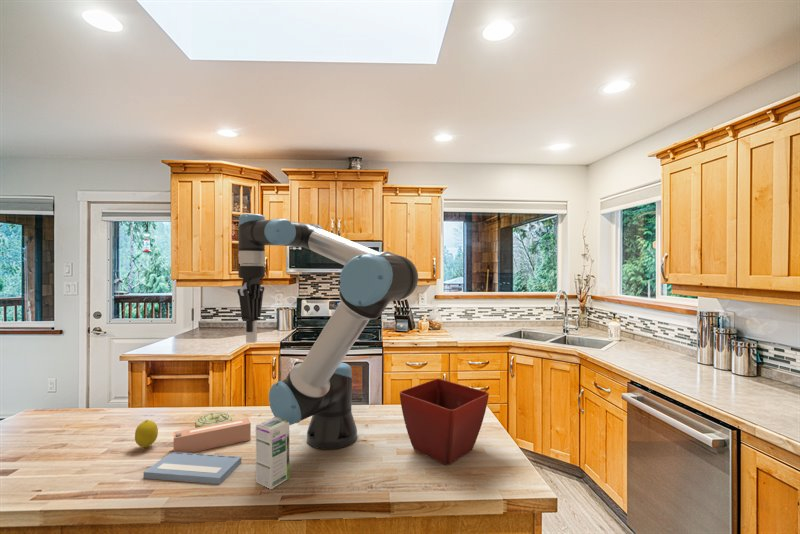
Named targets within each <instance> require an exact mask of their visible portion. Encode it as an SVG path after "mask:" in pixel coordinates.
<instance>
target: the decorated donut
mask: <svg viewBox="0 0 800 534" xmlns="http://www.w3.org/2000/svg"><path fill="white" fill-rule="evenodd" d="M229 421H233V417H232V415H231V414H230V413H228V412H220V411H219V412H211V413H207V414H204V415H202V416H199V417H198V418H196V420H195V422H194V428H197V427H202V426H208V425H213V424H218V423H224V422H229Z"/></svg>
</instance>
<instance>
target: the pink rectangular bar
mask: <svg viewBox="0 0 800 534" xmlns="http://www.w3.org/2000/svg"><path fill="white" fill-rule="evenodd" d="M251 423H252V422H251V421H250V419H249V418H248V417H246V418H241V419H236V420H232V421H229V422H224V423H218V424H213V425H208V426H202V427H197V428H195V427H194V428H193V427H192V428H188V429H187V428H186V429H183V430H177V431H173V451H172V452H180V453H195V452H201V451H205V450H210V449H213V448H218V447H222V446H224V447H225V446H227V445H228V446H229V445H232V444H237V443H242V442H246V440H247V441H250V440H251V436H252V435H251V431H252V430H251V428H252V427H251V426H252V425H251Z"/></svg>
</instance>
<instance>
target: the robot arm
mask: <svg viewBox="0 0 800 534" xmlns="http://www.w3.org/2000/svg"><path fill="white" fill-rule="evenodd" d="M237 230H238V232H237V233H238V236H237V237H238V240H237V241H238V254H237V257H238V264H239V266H238V267H237V269H238V270H237V271H238V273H237V274H238V278H239V279H242V283H241V286H242V287H241V288H238V289H237V290H236V291H237V296H238V298H239V299H238V301H239V307H240V316H241V320H242V322H245V343H252V344H254V343H257V342H258V331H257V330H258V324H257V323H258V321H261V316H262V315H261V314H262V307H263V297H264V292H265V286H261V285H262V284H261V279H263V278H265V276H266V275H265V271H266V269H265V268H266V267H265V266H264V265H265V264H266V251H265V250H266V246H283V247H284V246H285V247H296V248H297V247H300V248H304V249H307V250H310V251H311V252H314V253H316V254H318V255H320V256H323V257H325V258H327V259H330V260H332V261H334V262H336V263H338V264H340V265H343V267H342V269H341V272H340V274H339V279H338V280H339V281H340V284H338V285H339V291H338V296H339V300H340V301H339V303H338V305H337V306H336V308H335V309H334V311H333V313H332V315H331V316H330V318H329V320H328V321H327V323H326V324H325V325H324V327H323V328H322V330H321V332H320V333H319V336H318V337H317V339H316V340H315V342H314V343H313V345H312V346H311V348H310V349H309V351H308V353H307V354H306V356H305V358H304V359H303V361H302V362H299V363H296V364H295V365H294V366H293V367H292V368H291V369H290V371H289V373H288V374H287V375H286V377H285V378H284V379H283V380H279V381H277V382H274V383H273V384H272V385H271V387H270V389H269V392H268V403H269V408H270V410H271V413H272V415H273V416H274V417H277V418H281V419H284V420H287V421H289V426H291V425H294V424H299V423H300V422H301V421H303V420H306V419H309V418H310V417H311V419H310V422H309V424H308V428H307V430H306V431H307V432H306V442H307V444H309V446H310V447H313V448H315V449H320V450H337V449H341V448H345V447H347V446H350V445H351V444H354V443H355V442H356V440H357V438H358V428H357V425H356V422H355V419H354V416H353V411H352V405H353V404H352V402H353V401H352V399H353V398H352V395H353V392H352V391H353V387H352V386H353V374H352V373H353V372H352V370H353V369H352V367H351V365H349V364H348V363H346V362H343V360H344V359H345V357H346V356H347V354H348V353H349V351H350V350H351V349H352V347H353V345H354V344H355V342H357V340H358V338H359V337H360V335H361V334H362V332H363V331H364V329H365V328H366V326H367V325H368V323H369V321H371V320H376V319H377V320H378V318H379V317H380V316H381V315H382V314H383V312H384V311H385V309H386V308H387V307H388V305H389V304H390V303H391V302H394V301H395V302H396V301H402V300H404V299H406V298H408V297H410V296H411V295H412V294H413V293H414V291H415V290H416V289H417V286H418V283H419V273H418V269H417V267H416V265H415V264H414V262H413V261H412V260H410V259H409V258H407V257H406V256H402V255H398V254H395V253H392V252H390V251H386V250H385V251H382V252H381V251H378V250H375V249H373V248H371V247H368V246H365V245H363V244H360V243H357V242H355V241H353V240H350V239H347V238H345V237H342V236H340V235H338V234H335V233H333V232H330V231H327V230H325V229H324V228H323V227H322V226H321V225H319V224H314V223H305V222H304V223H303V222H298V221H297V222H296V221H290V220H289V219H287V218H273V219H266V217H265V216H264V215H263V214H259V213H258V214H257V213H242V214H240V216H239V217H238V226H237Z"/></svg>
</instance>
